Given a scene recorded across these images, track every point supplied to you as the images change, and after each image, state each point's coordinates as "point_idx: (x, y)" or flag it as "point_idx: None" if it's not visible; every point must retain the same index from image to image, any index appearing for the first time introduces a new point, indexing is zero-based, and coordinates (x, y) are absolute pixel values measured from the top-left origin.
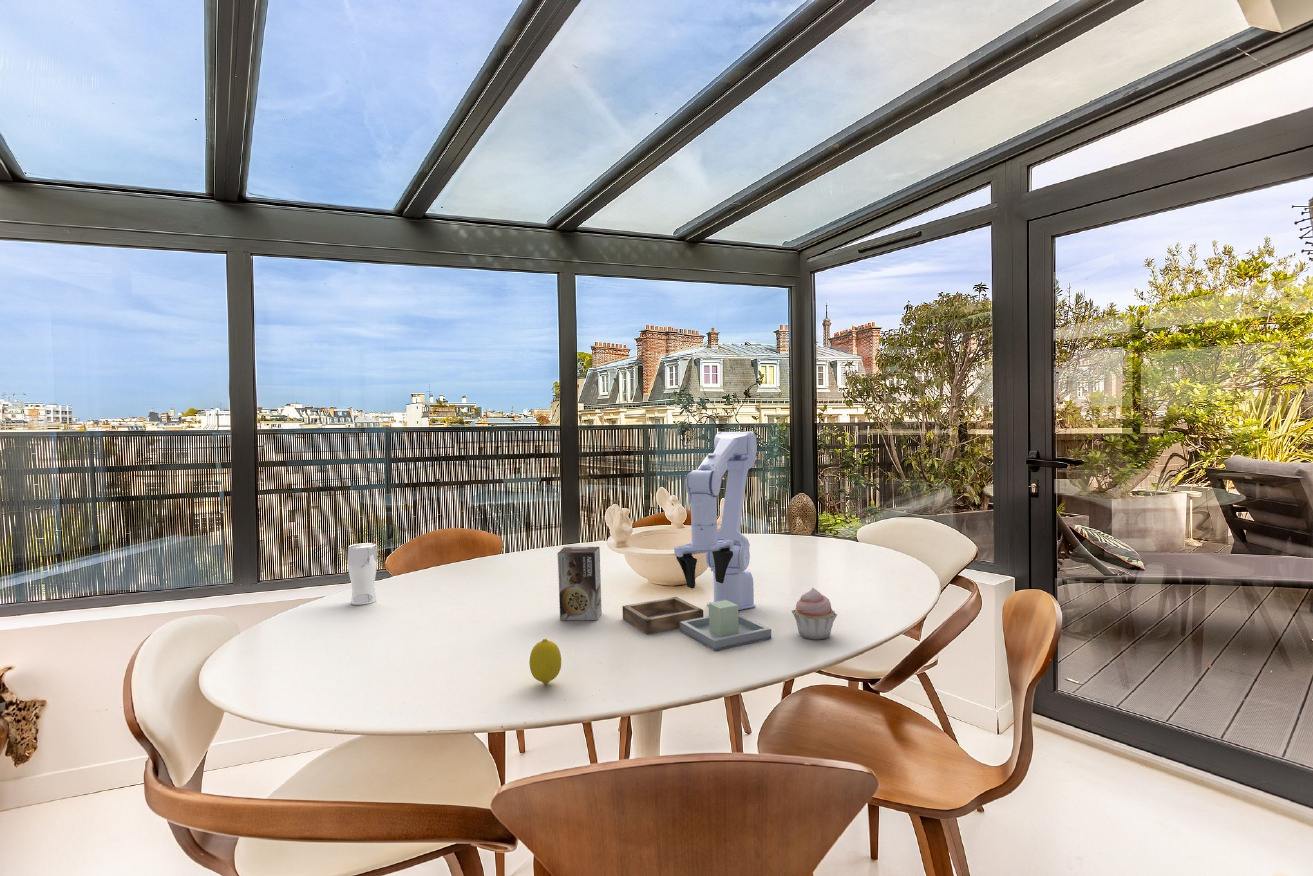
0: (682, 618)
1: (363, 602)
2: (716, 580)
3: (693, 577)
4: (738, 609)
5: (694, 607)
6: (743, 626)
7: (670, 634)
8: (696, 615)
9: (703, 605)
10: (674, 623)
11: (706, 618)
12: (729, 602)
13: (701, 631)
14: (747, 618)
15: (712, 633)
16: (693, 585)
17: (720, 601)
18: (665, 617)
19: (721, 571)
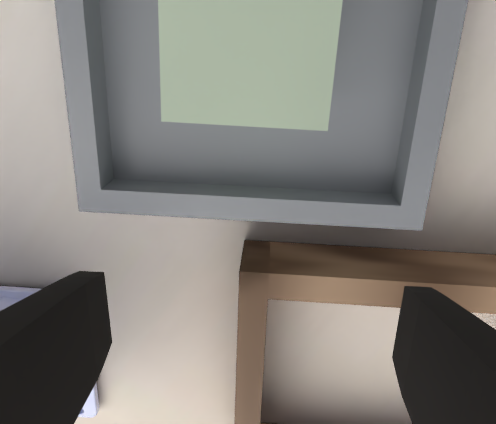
0: (371, 266)
1: None
2: (107, 342)
3: (485, 338)
4: (3, 287)
5: (255, 325)
6: (113, 55)
7: (476, 197)
8: (284, 262)
9: (112, 415)
10: (415, 261)
11: (265, 198)
12: (176, 46)
13: (443, 13)
14: (65, 59)
15: None
16: (434, 294)
17: (223, 114)
18: (486, 284)
19: (39, 343)
